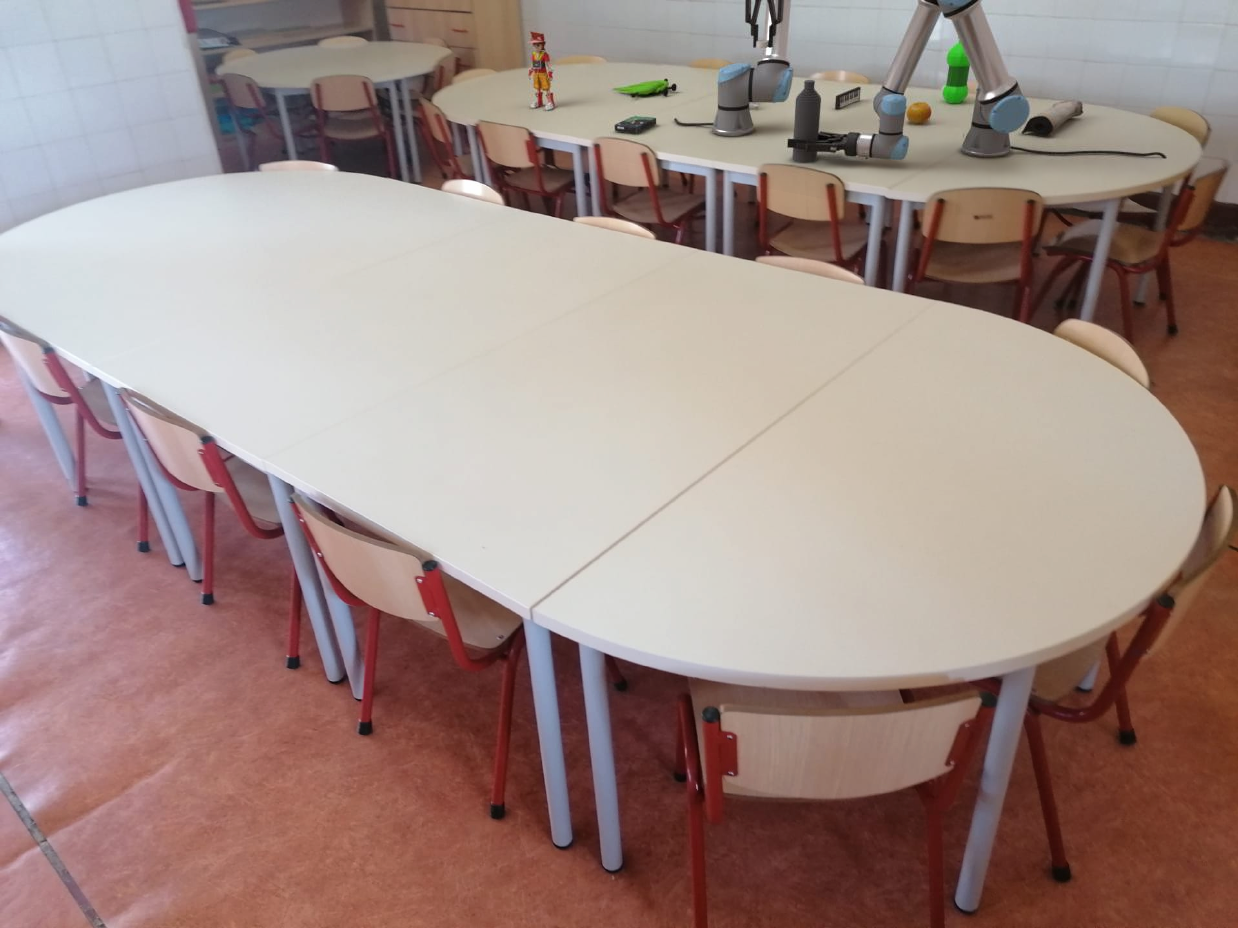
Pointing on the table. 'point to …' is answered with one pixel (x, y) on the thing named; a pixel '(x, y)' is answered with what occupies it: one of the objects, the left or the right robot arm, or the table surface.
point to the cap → (762, 43)
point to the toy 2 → (648, 88)
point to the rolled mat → (1053, 118)
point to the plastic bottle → (956, 75)
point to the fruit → (919, 112)
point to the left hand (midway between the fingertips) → (762, 47)
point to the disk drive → (635, 124)
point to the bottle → (806, 120)
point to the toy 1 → (541, 71)
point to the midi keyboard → (847, 97)
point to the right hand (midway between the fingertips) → (792, 139)
